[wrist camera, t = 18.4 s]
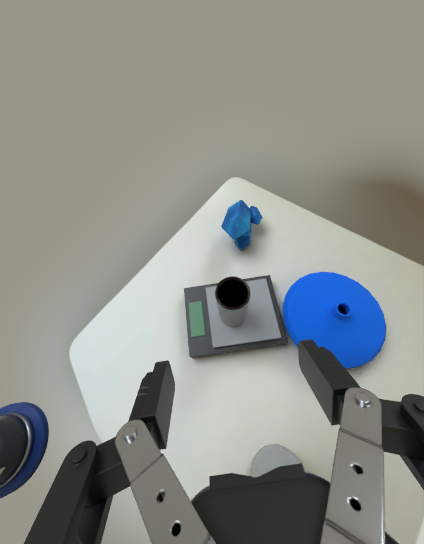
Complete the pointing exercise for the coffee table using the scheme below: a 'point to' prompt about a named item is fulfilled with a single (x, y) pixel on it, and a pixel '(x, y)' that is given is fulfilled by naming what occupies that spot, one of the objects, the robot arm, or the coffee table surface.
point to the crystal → (241, 222)
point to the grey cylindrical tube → (232, 300)
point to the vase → (335, 317)
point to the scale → (222, 338)
